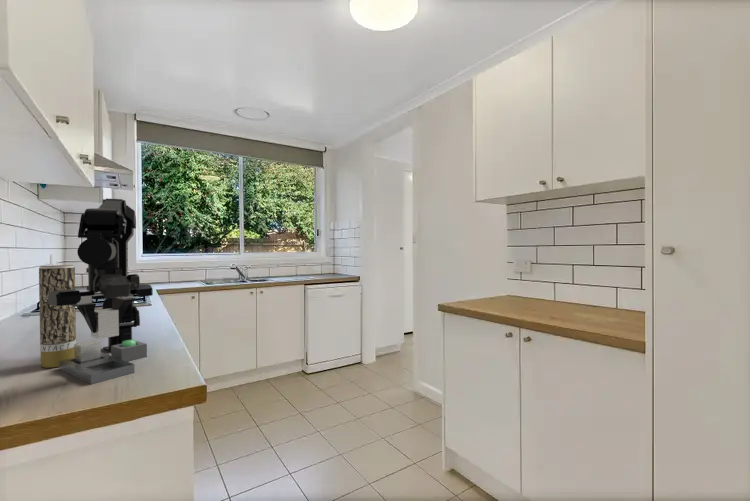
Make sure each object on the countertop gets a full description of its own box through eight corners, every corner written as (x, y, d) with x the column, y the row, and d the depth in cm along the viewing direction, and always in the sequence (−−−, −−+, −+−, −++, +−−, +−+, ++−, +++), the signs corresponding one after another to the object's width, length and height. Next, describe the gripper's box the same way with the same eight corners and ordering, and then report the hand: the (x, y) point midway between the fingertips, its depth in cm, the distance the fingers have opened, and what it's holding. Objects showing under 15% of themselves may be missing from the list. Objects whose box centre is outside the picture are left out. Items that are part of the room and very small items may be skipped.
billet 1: (74, 368, 89) (74, 343, 89) (94, 363, 92) (93, 340, 92) (81, 371, 86) (80, 346, 86) (100, 366, 90) (100, 342, 90)
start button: (120, 350, 96) (120, 341, 96) (132, 348, 99) (132, 339, 99) (125, 352, 94) (125, 343, 94) (138, 349, 97) (137, 340, 97)
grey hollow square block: (111, 359, 96) (111, 345, 96) (136, 353, 101) (136, 340, 101) (121, 362, 92) (121, 349, 92) (146, 356, 97) (146, 343, 97)
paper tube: (47, 362, 93) (45, 265, 93) (80, 358, 96) (78, 264, 96) (35, 370, 87) (33, 266, 87) (71, 366, 90) (69, 266, 90)
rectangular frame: (59, 369, 88) (59, 360, 88) (100, 359, 95) (100, 352, 95) (91, 384, 78) (91, 375, 78) (134, 372, 85) (134, 364, 85)
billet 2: (98, 339, 81) (98, 312, 81) (91, 336, 83) (90, 310, 83) (118, 335, 84) (118, 309, 84) (111, 333, 87) (110, 308, 86)
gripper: (66, 266, 71) (67, 345, 72) (163, 262, 87) (164, 327, 87) (46, 265, 77) (47, 337, 78) (141, 261, 93) (142, 322, 93)
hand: (105, 330), depth 84 cm, fingers closed on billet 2, 4 cm apart
